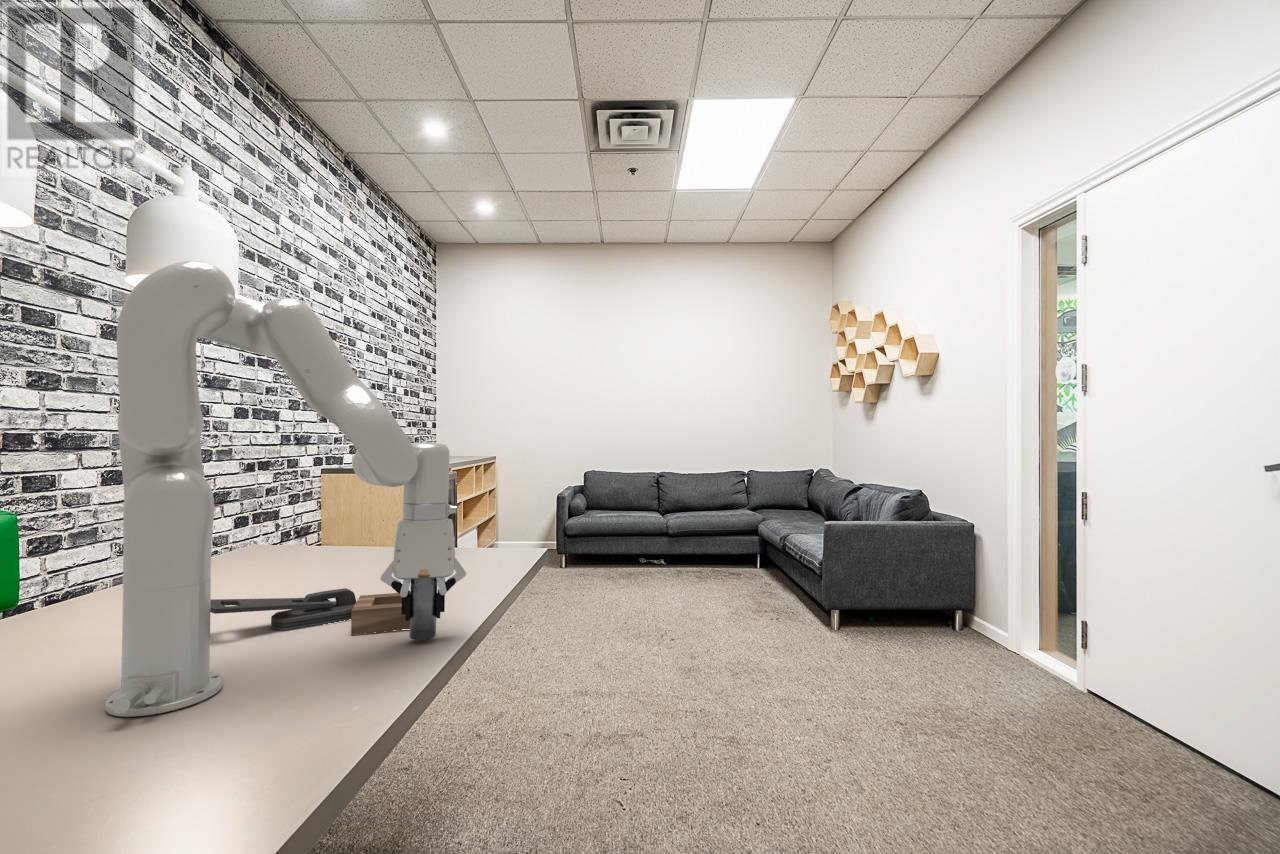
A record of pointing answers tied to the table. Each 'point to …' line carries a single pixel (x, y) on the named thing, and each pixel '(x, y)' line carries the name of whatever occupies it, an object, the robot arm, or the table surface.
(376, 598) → the socket block
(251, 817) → the table surface
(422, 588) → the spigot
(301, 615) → the zipper pull
